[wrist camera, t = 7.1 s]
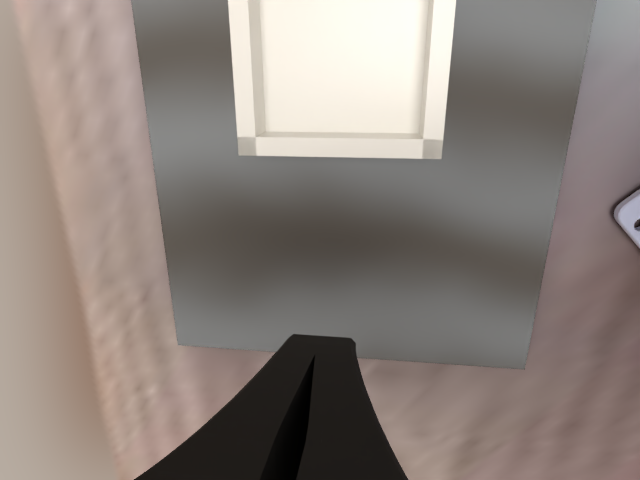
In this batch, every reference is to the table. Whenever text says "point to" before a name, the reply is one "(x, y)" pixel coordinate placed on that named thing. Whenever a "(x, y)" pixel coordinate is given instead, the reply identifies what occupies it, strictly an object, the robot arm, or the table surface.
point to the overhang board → (366, 196)
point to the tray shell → (341, 77)
